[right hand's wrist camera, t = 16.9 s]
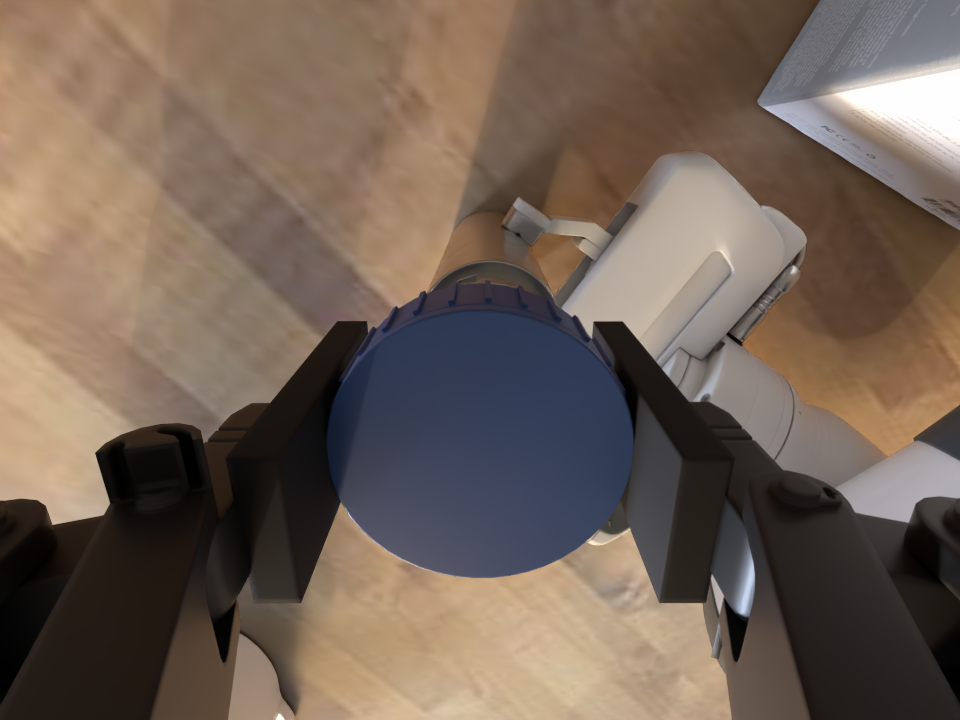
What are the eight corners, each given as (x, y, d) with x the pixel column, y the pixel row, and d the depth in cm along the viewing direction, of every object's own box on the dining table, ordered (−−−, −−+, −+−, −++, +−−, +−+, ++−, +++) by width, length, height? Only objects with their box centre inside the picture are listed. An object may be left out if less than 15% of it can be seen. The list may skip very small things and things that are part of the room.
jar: (444, 213, 32) (400, 277, 16) (525, 207, 32) (569, 265, 15) (452, 292, 34) (419, 426, 17) (529, 287, 34) (571, 416, 17)
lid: (472, 561, 14) (470, 625, 12) (290, 402, 12) (255, 448, 10) (668, 419, 12) (701, 468, 10) (490, 217, 10) (493, 231, 9)
